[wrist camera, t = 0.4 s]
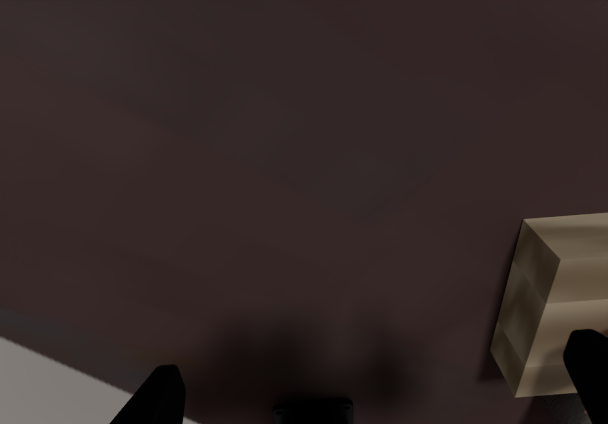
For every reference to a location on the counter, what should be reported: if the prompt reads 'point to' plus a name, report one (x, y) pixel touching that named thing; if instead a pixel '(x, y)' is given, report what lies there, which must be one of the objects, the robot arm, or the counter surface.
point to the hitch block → (551, 300)
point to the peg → (567, 408)
